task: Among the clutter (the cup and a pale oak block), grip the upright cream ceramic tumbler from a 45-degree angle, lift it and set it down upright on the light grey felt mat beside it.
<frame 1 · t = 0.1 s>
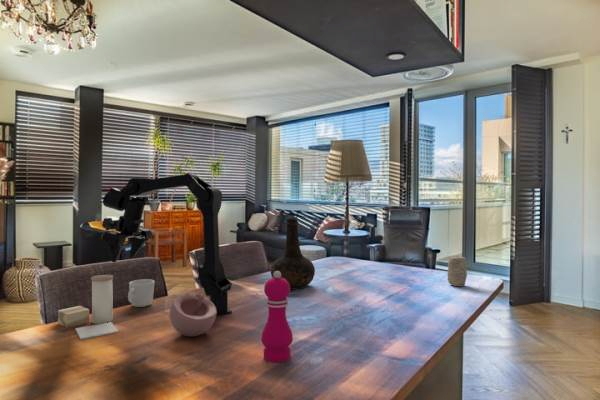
hand: (122, 259, 130), 15 cm above the table, tool pointing down, fingers open, 9 cm apart
tumbler: (102, 320, 114), on the table
cup: (139, 307, 129), on the table
oak block: (73, 323, 112), on the table
carving: (457, 286, 160), on the table
pepper mill: (277, 357, 89), on the table
mat: (96, 331, 106), on the table
mortar and pestle: (193, 335, 103), on the table
dark brown vase: (292, 287, 157), on the table
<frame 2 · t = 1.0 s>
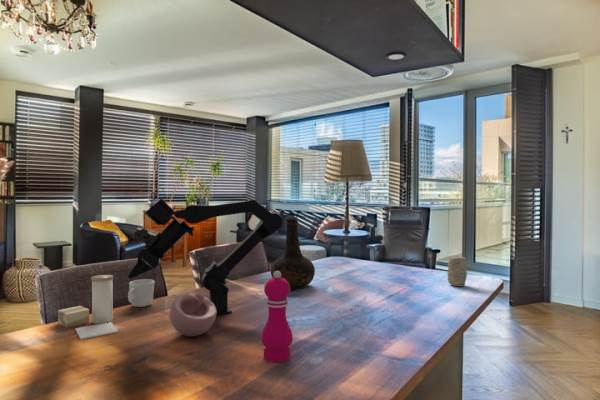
hand: (131, 274, 116), 13 cm above the table, tool tilted 45°, fingers open, 9 cm apart
nothing on the table moved.
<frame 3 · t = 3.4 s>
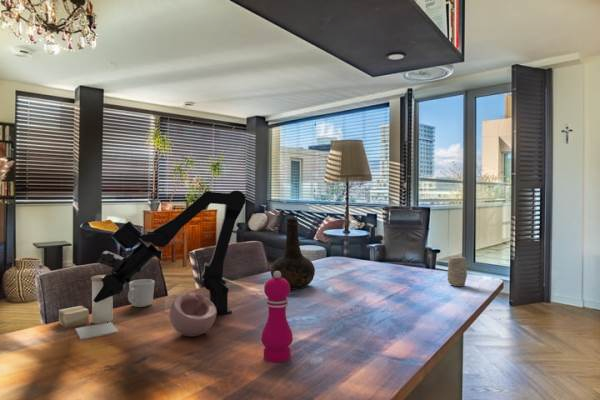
hand: (97, 298, 114), 7 cm above the table, tool tilted 45°, fingers closed on tumbler, 5 cm apart
tumbler: (102, 320, 114), on the table, touching gripper
everything else where it was.
when the fingers open (8 cm above the table, at t = 6.6 s): tumbler drops 1 cm, resting on mat.
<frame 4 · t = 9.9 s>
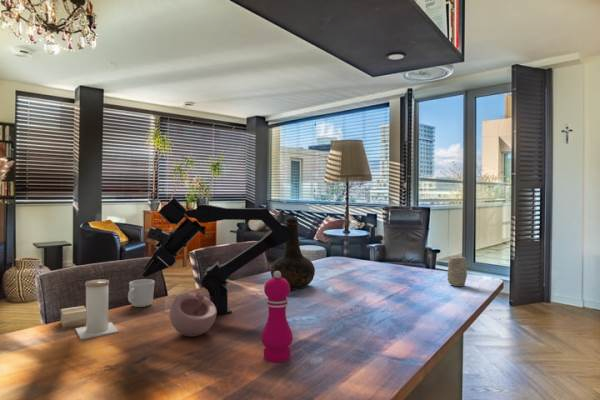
hand: (144, 273, 117), 14 cm above the table, tool tilted 45°, fingers open, 9 cm apart
tumbler: (97, 329, 106), resting on mat
everything else where it was.
at the end: tumbler inside the target area on the mat (0.1 cm from its centre), point 0.4 cm above the mat's base; tumbler tilted 1°; the gripper is holding nothing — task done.
